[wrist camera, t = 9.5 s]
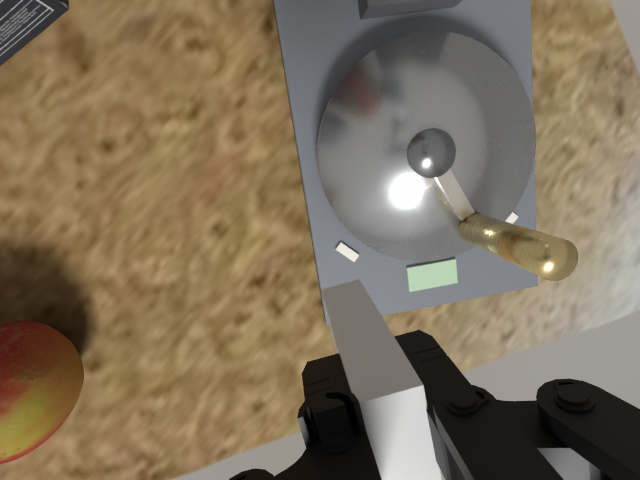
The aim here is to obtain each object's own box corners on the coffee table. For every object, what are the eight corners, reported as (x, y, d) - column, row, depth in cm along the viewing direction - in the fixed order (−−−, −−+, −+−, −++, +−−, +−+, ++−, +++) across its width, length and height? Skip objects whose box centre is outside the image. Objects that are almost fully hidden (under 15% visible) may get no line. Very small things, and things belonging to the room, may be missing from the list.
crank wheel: (389, 295, 28) (444, 363, 19) (272, 122, 24) (270, 105, 15) (557, 180, 27) (696, 195, 18) (461, -12, 24) (574, -110, 15)
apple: (-40, 341, 27) (-167, 416, 19) (64, 286, 27) (-21, 340, 19) (29, 423, 29) (-62, 523, 21) (127, 372, 29) (72, 453, 21)
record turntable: (271, -6, 25) (270, -36, 21) (514, -37, 26) (558, -72, 22) (324, 317, 30) (331, 343, 26) (525, 279, 31) (562, 298, 27)
